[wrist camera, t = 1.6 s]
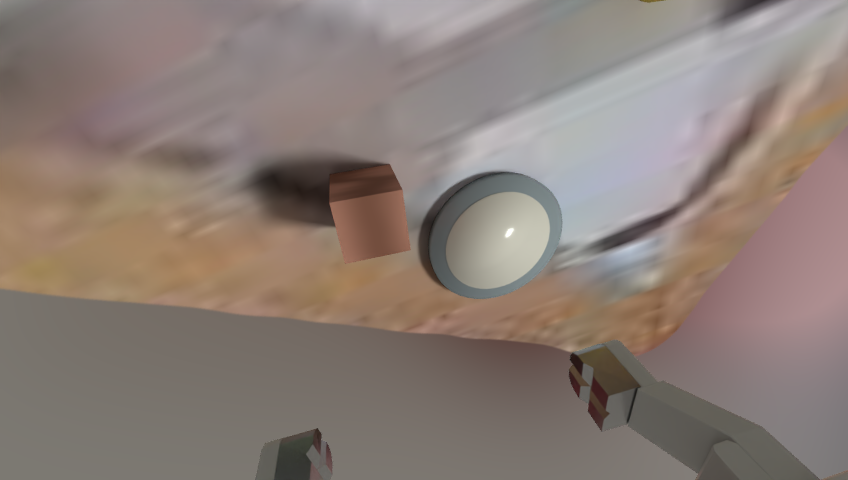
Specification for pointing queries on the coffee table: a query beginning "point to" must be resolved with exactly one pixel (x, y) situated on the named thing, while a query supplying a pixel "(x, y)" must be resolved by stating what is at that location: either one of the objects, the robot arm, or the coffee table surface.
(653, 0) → the element tile
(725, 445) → the robot arm
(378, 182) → the block
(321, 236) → the coffee table surface
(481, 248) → the dish
